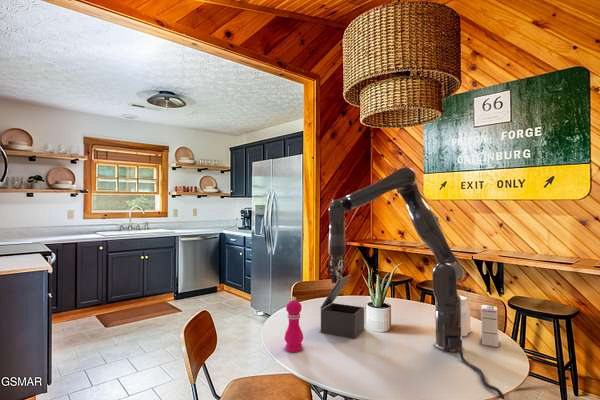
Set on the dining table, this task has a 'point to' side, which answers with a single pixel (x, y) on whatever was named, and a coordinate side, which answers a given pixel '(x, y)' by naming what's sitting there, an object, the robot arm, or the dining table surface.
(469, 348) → the dining table surface
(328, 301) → the lid
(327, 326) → the dark lidded box
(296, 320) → the pepper mill
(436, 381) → the dining table surface
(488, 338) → the syrup box
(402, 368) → the dining table surface
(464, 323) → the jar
